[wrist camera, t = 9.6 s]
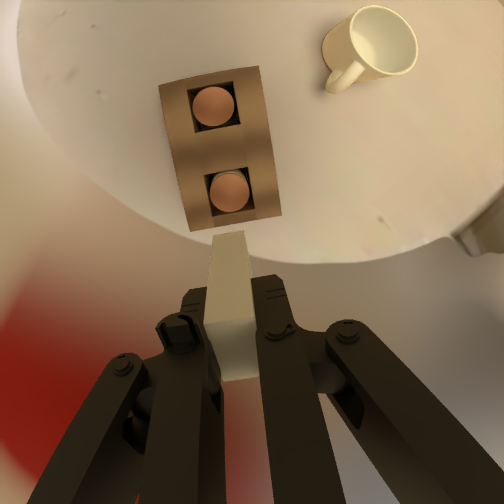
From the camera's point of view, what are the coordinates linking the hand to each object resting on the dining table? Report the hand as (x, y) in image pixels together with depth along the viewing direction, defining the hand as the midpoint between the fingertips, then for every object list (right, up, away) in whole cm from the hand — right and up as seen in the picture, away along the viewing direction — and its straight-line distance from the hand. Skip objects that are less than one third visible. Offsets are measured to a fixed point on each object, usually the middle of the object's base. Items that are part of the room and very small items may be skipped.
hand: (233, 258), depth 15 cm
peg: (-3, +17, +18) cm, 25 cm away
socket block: (-3, +14, +21) cm, 25 cm away
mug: (+13, +25, +17) cm, 33 cm away
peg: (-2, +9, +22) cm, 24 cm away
